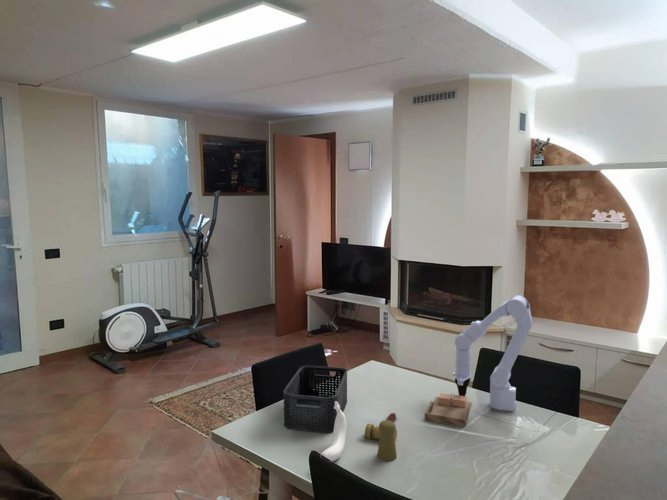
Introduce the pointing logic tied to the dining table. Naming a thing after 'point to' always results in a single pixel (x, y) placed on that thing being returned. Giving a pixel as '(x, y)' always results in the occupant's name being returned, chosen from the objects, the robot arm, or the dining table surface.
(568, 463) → the dining table surface
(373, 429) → the gavel
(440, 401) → the tile outer
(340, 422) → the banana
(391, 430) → the cork
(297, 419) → the storage bin
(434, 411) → the wooden tray
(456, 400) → the tile inner
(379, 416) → the dining table surface
